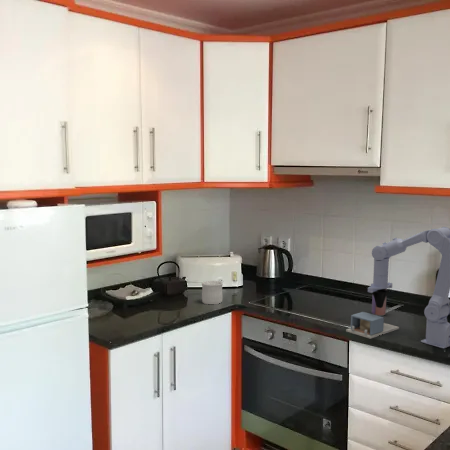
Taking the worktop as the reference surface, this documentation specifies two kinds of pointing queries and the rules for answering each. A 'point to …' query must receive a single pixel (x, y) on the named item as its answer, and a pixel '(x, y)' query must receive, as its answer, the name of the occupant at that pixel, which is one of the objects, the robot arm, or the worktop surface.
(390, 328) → the base plate
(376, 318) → the housing
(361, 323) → the birch block
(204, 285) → the cup
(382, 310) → the beverage can
